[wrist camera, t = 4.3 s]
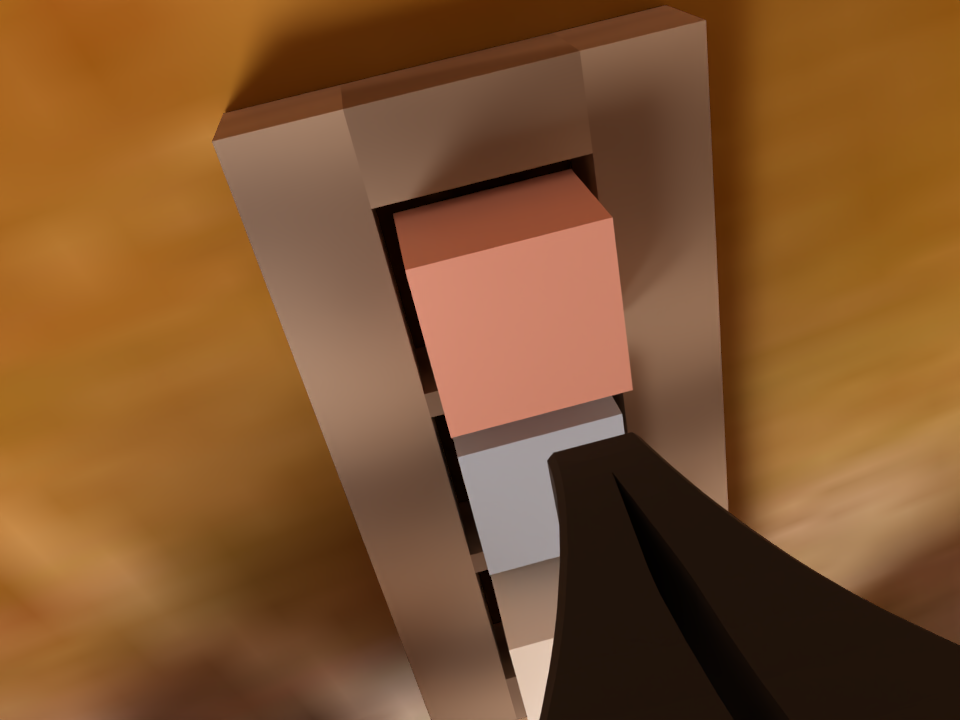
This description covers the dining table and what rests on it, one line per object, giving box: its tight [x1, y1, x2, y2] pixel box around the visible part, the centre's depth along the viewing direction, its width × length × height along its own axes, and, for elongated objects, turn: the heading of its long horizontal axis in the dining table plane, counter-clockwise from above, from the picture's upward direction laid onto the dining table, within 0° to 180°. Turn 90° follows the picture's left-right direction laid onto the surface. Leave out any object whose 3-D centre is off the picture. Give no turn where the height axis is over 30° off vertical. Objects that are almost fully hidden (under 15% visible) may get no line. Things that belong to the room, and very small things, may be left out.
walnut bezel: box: [212, 5, 728, 720], centre depth 22 cm, size 20×10×2 cm, turn 11°
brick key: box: [393, 169, 633, 438], centre depth 18 cm, size 4×4×3 cm
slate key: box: [453, 396, 625, 575], centre depth 21 cm, size 4×4×3 cm
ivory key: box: [491, 556, 560, 720], centre depth 23 cm, size 4×4×3 cm
